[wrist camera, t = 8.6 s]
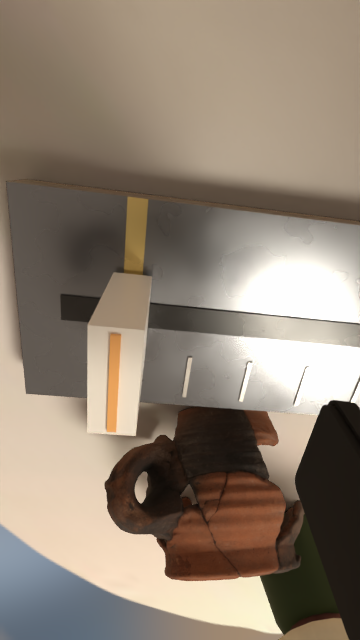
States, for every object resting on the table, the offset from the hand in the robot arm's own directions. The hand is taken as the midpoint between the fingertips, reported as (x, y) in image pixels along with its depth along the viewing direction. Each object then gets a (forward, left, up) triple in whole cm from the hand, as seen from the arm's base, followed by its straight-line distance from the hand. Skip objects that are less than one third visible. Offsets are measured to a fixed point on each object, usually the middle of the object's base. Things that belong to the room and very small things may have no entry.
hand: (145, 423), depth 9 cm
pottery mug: (-4, +10, -9) cm, 15 cm away
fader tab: (+1, 0, -6) cm, 7 cm away
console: (-5, 0, -9) cm, 10 cm away
